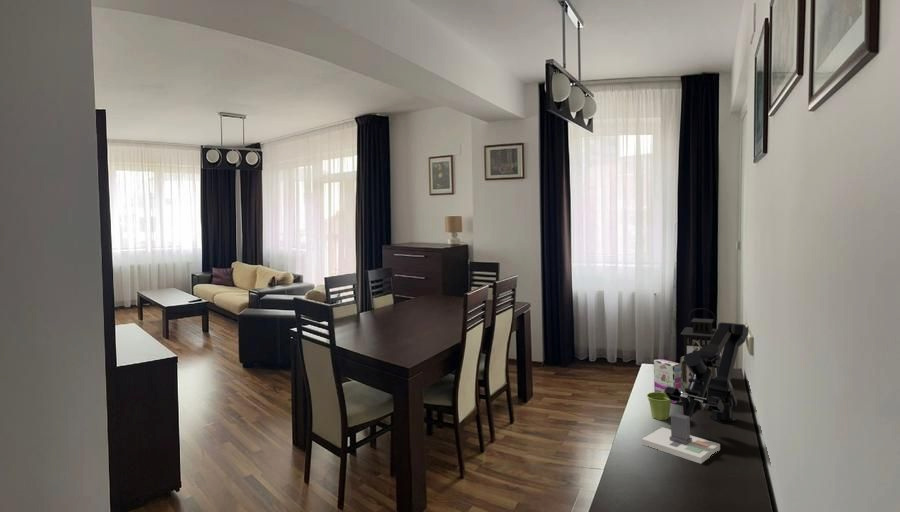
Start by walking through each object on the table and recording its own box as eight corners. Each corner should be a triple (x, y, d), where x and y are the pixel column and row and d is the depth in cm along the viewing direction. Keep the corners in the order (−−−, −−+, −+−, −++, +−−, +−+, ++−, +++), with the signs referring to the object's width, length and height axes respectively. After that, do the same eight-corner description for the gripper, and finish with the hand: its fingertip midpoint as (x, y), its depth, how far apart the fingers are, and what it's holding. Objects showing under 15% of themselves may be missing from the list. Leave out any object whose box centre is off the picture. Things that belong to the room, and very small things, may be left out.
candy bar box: (683, 402, 210) (682, 363, 209) (674, 404, 208) (673, 365, 207) (662, 394, 220) (661, 358, 219) (654, 396, 218) (652, 359, 217)
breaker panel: (662, 432, 181) (662, 426, 181) (720, 449, 165) (719, 443, 165) (642, 444, 172) (641, 438, 172) (700, 463, 157) (700, 457, 156)
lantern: (725, 376, 240) (724, 305, 238) (722, 387, 225) (721, 311, 223) (686, 372, 249) (684, 303, 247) (681, 382, 235) (679, 309, 233)
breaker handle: (675, 435, 172) (675, 412, 172) (692, 440, 168) (691, 416, 168) (669, 439, 170) (668, 415, 169) (685, 444, 165) (685, 419, 165)
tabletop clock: (680, 393, 220) (679, 337, 219) (701, 392, 220) (700, 336, 219) (695, 404, 206) (694, 345, 204) (717, 404, 206) (716, 344, 204)
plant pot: (676, 422, 189) (675, 400, 189) (650, 421, 191) (649, 399, 191) (670, 413, 198) (669, 392, 198) (645, 412, 200) (644, 391, 200)
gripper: (734, 399, 174) (721, 439, 168) (681, 387, 188) (667, 424, 182) (724, 382, 169) (710, 423, 162) (671, 371, 183) (656, 408, 177)
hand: (685, 420), depth 171 cm, fingers closed
